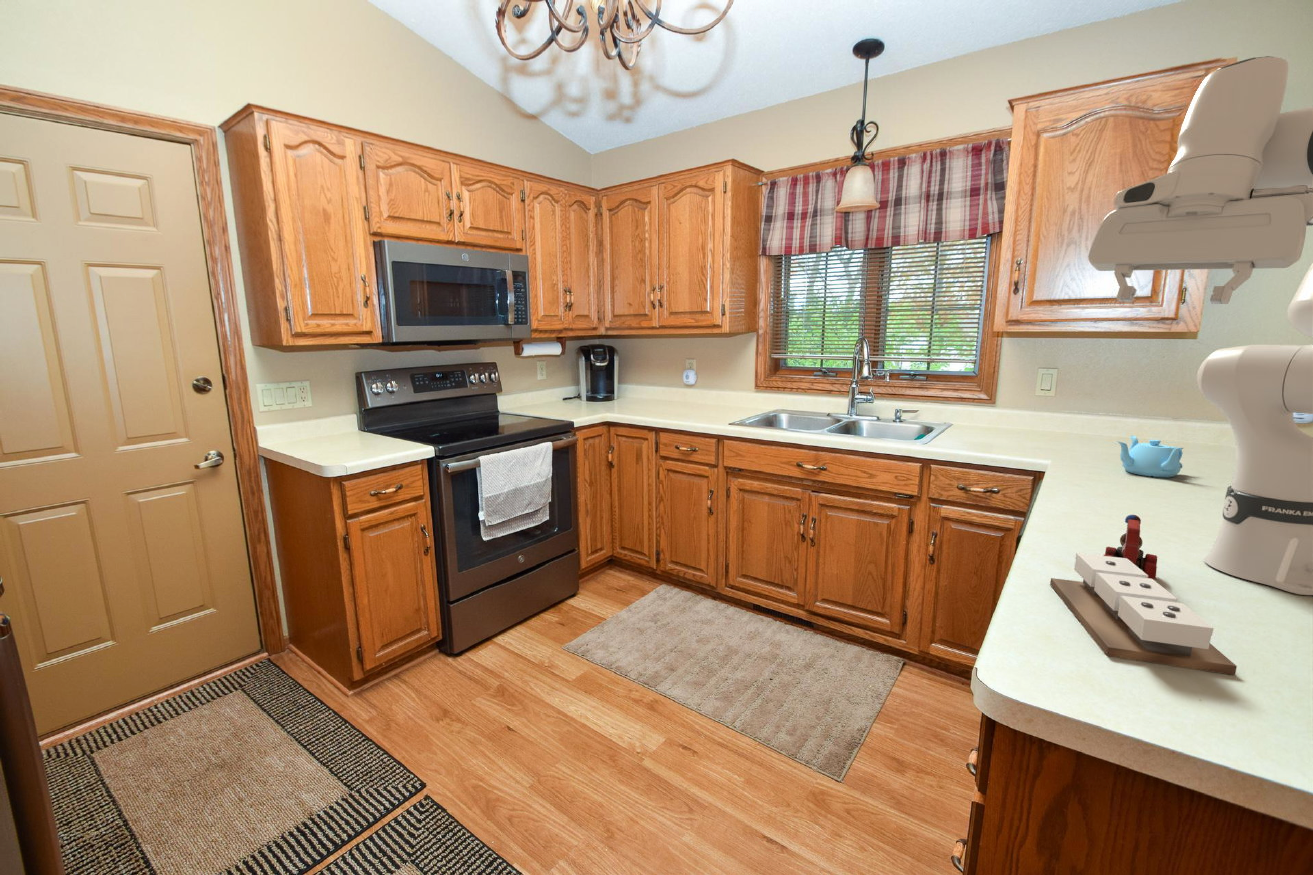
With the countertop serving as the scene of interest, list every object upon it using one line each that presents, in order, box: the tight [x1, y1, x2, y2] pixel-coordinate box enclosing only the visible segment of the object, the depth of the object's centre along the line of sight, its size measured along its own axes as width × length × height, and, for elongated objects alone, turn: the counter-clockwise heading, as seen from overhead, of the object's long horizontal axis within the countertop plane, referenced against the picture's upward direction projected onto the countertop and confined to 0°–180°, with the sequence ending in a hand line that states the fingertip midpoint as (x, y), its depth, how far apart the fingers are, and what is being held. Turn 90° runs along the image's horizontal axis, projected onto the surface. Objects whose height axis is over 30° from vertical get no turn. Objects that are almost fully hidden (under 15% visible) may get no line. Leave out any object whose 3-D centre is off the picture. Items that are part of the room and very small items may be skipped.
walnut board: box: [1049, 577, 1238, 676], centre depth 80 cm, size 13×22×3 cm, turn 161°
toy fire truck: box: [1102, 514, 1158, 581], centre depth 95 cm, size 7×12×10 cm, turn 139°
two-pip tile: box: [1094, 572, 1178, 611], centre depth 80 cm, size 7×7×3 cm
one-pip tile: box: [1074, 552, 1148, 587], centre depth 87 cm, size 7×7×3 cm
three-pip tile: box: [1118, 596, 1214, 649], centre depth 73 cm, size 7×7×3 cm
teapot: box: [1116, 434, 1184, 479], centre depth 168 cm, size 15×15×10 cm
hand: (1169, 301), depth 73 cm, fingers open, 8 cm apart
